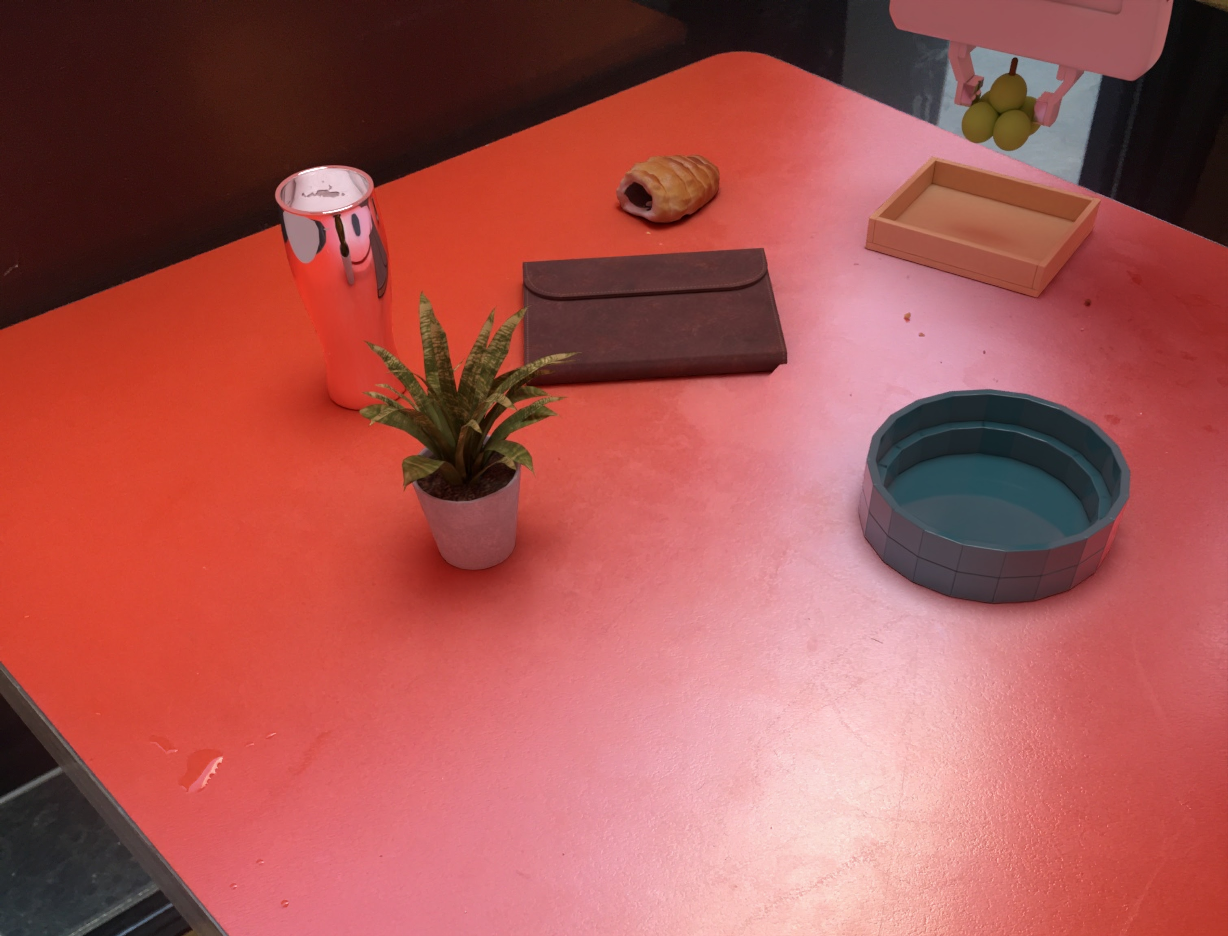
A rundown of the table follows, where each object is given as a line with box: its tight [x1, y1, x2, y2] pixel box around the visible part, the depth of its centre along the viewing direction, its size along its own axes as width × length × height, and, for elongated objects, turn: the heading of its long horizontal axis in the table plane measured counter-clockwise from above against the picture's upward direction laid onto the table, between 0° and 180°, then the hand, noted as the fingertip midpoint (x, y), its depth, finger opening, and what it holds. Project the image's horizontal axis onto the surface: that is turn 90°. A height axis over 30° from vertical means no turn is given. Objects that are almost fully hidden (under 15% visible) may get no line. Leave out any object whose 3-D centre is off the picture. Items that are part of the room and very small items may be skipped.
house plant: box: [357, 289, 581, 571], centre depth 75 cm, size 14×14×16 cm
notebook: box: [522, 247, 788, 386], centre depth 97 cm, size 15×20×2 cm
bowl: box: [857, 388, 1132, 604], centre depth 80 cm, size 16×16×5 cm
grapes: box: [961, 56, 1042, 152], centre depth 95 cm, size 5×5×6 cm
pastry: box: [615, 154, 721, 224], centre depth 107 cm, size 9×7×4 cm
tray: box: [864, 155, 1102, 298], centre depth 102 cm, size 15×12×3 cm
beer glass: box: [274, 164, 407, 411], centre depth 88 cm, size 7×7×15 cm
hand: (1004, 113), depth 95 cm, fingers closed on grapes, 5 cm apart
